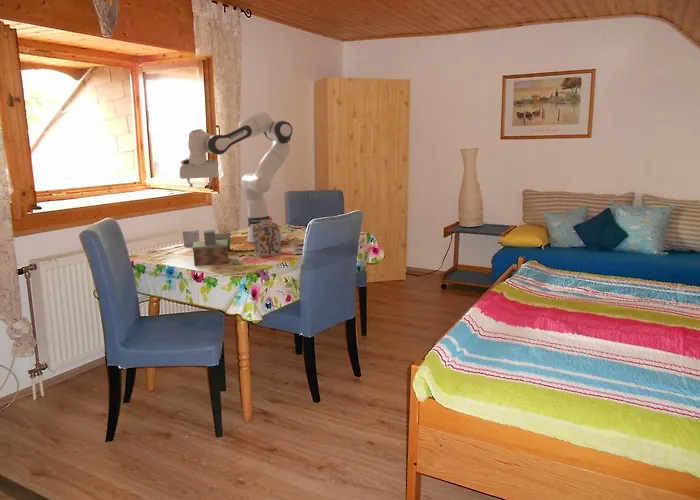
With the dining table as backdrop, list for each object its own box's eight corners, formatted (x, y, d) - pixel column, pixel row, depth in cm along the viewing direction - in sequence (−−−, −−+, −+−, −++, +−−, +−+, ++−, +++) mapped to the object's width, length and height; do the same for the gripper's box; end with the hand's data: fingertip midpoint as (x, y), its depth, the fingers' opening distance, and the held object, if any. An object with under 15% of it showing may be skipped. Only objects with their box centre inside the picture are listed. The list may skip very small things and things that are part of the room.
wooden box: (228, 257, 277) (227, 242, 275) (228, 263, 266) (227, 247, 264) (195, 260, 274) (194, 244, 272) (194, 265, 263) (193, 249, 261)
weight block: (215, 241, 271) (214, 230, 269) (215, 244, 266) (214, 232, 264) (205, 242, 270) (204, 230, 268) (205, 244, 265) (203, 232, 263)
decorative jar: (253, 253, 286) (251, 219, 281) (275, 250, 290) (273, 217, 286) (259, 257, 275) (257, 222, 271) (281, 255, 279) (279, 220, 275)
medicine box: (200, 244, 311) (198, 229, 309) (197, 246, 307) (195, 231, 305) (186, 244, 312) (185, 229, 310) (183, 246, 308) (182, 231, 306)
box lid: (227, 241, 275) (227, 239, 275) (227, 246, 264) (227, 244, 264) (193, 243, 272) (193, 241, 272) (192, 249, 261) (192, 247, 260)
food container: (212, 254, 286) (210, 235, 284) (209, 251, 292) (208, 233, 290) (235, 250, 292) (233, 232, 290) (232, 248, 297) (230, 230, 295)
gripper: (218, 159, 296) (220, 184, 299) (178, 160, 292) (181, 186, 295) (217, 160, 290) (220, 185, 293) (177, 161, 286) (180, 187, 289)
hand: (200, 186), depth 294 cm, fingers open, 8 cm apart
